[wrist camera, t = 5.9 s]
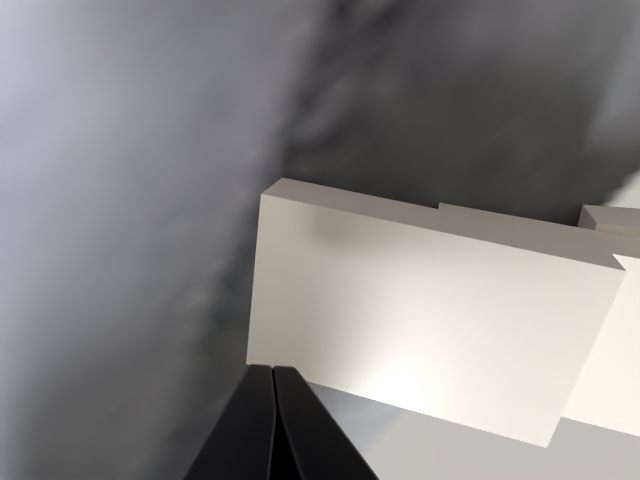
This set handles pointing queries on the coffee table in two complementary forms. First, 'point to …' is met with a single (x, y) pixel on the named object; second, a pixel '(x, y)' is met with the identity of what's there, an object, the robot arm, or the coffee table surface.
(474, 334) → the domino
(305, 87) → the coffee table surface
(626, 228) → the domino
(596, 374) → the domino
